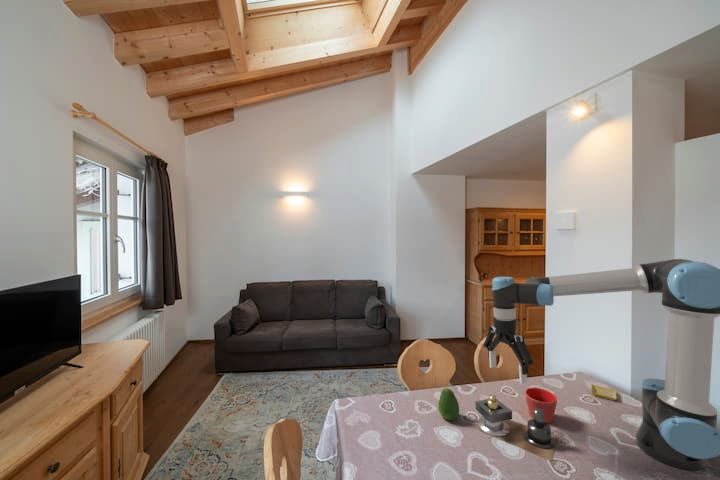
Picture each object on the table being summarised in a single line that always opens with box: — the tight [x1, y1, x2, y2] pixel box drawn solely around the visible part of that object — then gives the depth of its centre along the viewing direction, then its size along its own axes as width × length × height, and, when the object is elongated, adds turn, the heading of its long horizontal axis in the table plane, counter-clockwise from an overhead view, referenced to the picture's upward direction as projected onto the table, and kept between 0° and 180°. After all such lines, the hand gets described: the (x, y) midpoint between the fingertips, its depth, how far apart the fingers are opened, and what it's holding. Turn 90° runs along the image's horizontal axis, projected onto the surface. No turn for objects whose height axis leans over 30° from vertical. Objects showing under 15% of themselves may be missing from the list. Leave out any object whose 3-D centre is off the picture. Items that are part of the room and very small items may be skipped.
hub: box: [477, 394, 510, 438], centre depth 109 cm, size 11×11×12 cm
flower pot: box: [524, 387, 558, 424], centre depth 115 cm, size 11×11×10 cm
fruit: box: [438, 387, 460, 421], centre depth 116 cm, size 8×8×12 cm
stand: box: [525, 408, 555, 449], centre depth 102 cm, size 9×9×10 cm
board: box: [473, 416, 559, 462], centre depth 106 cm, size 25×14×1 cm, turn 48°
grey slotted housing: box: [474, 398, 513, 423], centre depth 109 cm, size 9×9×3 cm
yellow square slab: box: [590, 384, 618, 402], centre depth 129 cm, size 9×9×2 cm
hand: (507, 374), depth 109 cm, fingers open, 13 cm apart
